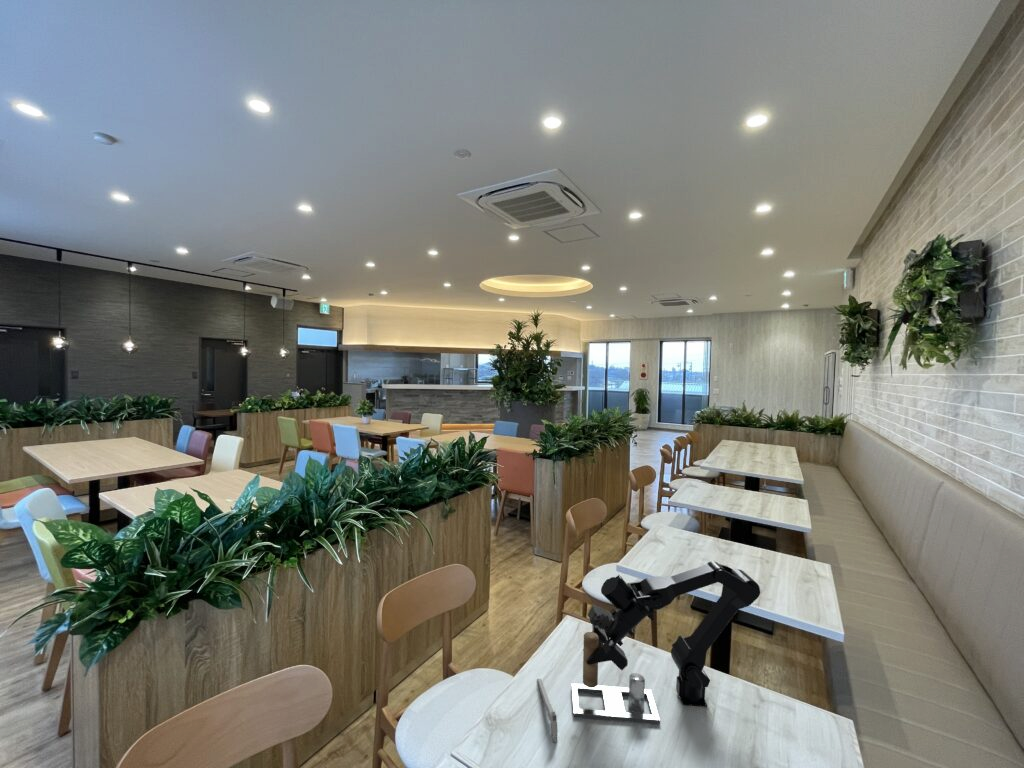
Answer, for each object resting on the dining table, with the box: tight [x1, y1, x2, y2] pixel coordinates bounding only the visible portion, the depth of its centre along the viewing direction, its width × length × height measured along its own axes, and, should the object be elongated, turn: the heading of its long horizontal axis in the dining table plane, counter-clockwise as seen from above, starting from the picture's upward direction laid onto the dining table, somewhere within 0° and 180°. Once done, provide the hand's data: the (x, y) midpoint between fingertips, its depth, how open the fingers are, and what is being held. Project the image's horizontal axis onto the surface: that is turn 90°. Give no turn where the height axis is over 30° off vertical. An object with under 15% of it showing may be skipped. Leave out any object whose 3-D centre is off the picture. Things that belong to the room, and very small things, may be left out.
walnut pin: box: [582, 631, 599, 688], centre depth 116 cm, size 4×4×13 cm
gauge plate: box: [571, 682, 661, 725], centre depth 114 cm, size 22×10×1 cm, turn 85°
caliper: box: [536, 678, 558, 743], centre depth 113 cm, size 20×1×6 cm, turn 8°
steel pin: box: [627, 672, 646, 714], centre depth 114 cm, size 4×4×8 cm
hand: (585, 657), depth 116 cm, fingers closed on walnut pin, 4 cm apart
